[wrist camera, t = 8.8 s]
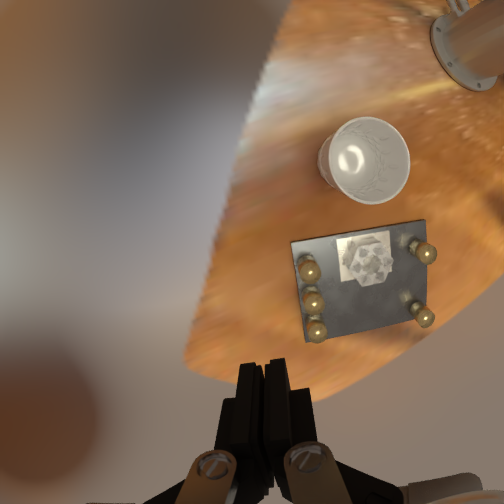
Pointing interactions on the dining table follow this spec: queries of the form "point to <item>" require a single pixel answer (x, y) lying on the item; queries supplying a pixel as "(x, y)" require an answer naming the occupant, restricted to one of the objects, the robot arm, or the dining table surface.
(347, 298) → the jig plate
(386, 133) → the white cup
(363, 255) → the steel nut
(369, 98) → the dining table surface
